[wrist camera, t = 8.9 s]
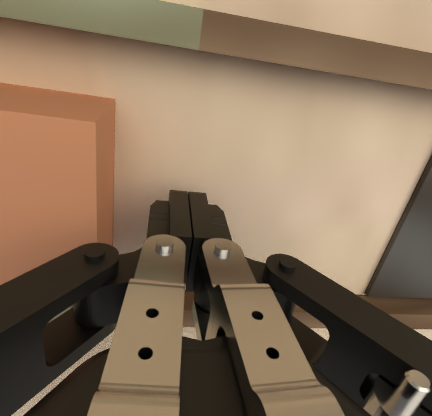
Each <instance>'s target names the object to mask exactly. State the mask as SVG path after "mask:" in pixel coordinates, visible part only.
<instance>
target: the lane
mask: <svg viewBox="0 0 432 416" xmlns="http://www.w3.org/2000/svg"><path fill="white" fill-rule="evenodd" d="M0 17H5V18H11V19H17V20H23V21H29V22H35V23H41V24H47V25H52V26H58V27H64V28H70V29H76V30H82V31H88V32H94V33H100V34H106V35H111V36H117V37H123V38H129V39H135V40H141V41H147V42H153V43H159V44H165V45H171V46H176V47H182V48H188V49H194V50H200V51H206V52H212V53H218V54H224V55H230V56H236V57H241V58H247V59H253V60H259V61H265V62H271V63H277V64H283V65H289V66H295V67H300V68H306V69H312V70H318V71H324V72H330V73H336V74H342V75H348V76H354V77H360V78H365V79H371V80H377V81H383V82H389V83H395V84H401V85H407V86H413V87H419V88H424V89H430V90H432V53H428V52H423V51H418V50H412V49H407V48H402V47H397V46H392V45H387V44H381V43H376V42H371V41H366V40H361V39H356V38H350V37H345V36H340V35H335V34H330V33H325V32H319V31H314V30H309V29H304V28H299V27H294V26H288V25H283V24H278V23H273V22H268V21H263V20H257V19H252V18H247V17H242V16H237V15H232V14H226V13H221V12H216V11H211V10H206V9H201V8H195V7H190V6H185V5H180V4H175V3H170V2H164V1H159V0H0ZM365 294H366V295H357V296H359V297H361V298H362V299H364V300H365V301H367V302H369V303H370V304H372V305H374V306H375V307H377V308H379V309H380V310H382V311H384V312H385V313H387V314H389V315H390V316H392V317H393V318H395V319H397V320H398V321H400V322H402V323H403V324H405V325H407V326H408V327H410V328H412V329H432V156H431V158H430V160H429V162H428V164H427V166H426V168H425V170H424V173H423V175H422V177H421V179H420V181H419V183H418V185H417V187H416V189H415V191H414V193H413V195H412V197H411V199H410V201H409V203H408V205H407V207H406V210H405V212H404V214H403V216H402V218H401V220H400V222H399V224H398V226H397V228H396V230H395V232H394V234H393V236H392V238H391V240H390V242H389V245H388V247H387V249H386V251H385V253H384V255H383V257H382V259H381V261H380V263H379V265H378V267H377V269H376V271H375V273H374V275H373V277H372V279H371V282H370V284H369V286H368V288H367V290H366V292H365ZM193 299H194V292H189V291H186V290H185V292H184V310H183V327H195V323H194V317H193V312H192V305H193ZM72 307H73V305H72V306H71V307H69V308H67V309H66V310H64V311H63V312H61V313H60V314H58V315H57V316H55V317H54V318H52V319H51V320H50V321H49V322H51V321H52V320H54V319H55V318H57V317H59V316H60V315H62V314H63V313H65V312H66V311H68V310H69V309H71V308H72ZM293 316H294V317H295V318H296V319H298V320H299V321H301V322H302V323H303V324H305V325H306V326H307V327H309V328H326V326H325V325H324V324H323V323H322V322H320V321H319V320H317V319H316V318H314V317H313V316H312V315H310V314H309V313H307V312H306V311H305V310H303V309H302V308H300V307H299V306H297V305H296V307H295V310H294V313H293ZM49 322H48V323H49Z"/></svg>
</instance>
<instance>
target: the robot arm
mask: <svg viewBox="0 0 432 416" xmlns="http://www.w3.org/2000/svg"><path fill="white" fill-rule="evenodd" d="M225 219H226V218H225V215H224V212H223V211H222V210H221V209H220V208H219V207H218V206H217V205H208V201H207V196H206V193H199V192H187V191H176V190H170V194H169V201H160V200H156V201H155V202H154V203H153V204H152V205H151V206H150V215H149V223H148V232H147V239H146V240H145V241H144V243H143V246H142V248H140V249H139V250H137V251H134V252H131V253H127V254H120V255H119V253H118V251H117V249H116V248H114V247H113V246H111V245H109V244H105V243H88V244H84V245H81V246H79V247H77V248H75V249H73V250H71V251H69V252H67V253H65V254H63V255H61V256H59V257H56V258H54V259H52V260H50V261H48V262H46V263H44V264H42V265H40V266H38V267H36V268H34V269H32V270H30V271H28V272H26V273H24V274H22V275H20V276H18V277H16V278H14V279H12V280H10V281H8V282H6V283H4V284H2V285H0V416H11V415H12V414H13V413H15V412H16V411H17V410H18V409H19V408H21V407H22V406H23V405H24V404H25V403H27V402H28V401H29V400H30V399H32V398H33V397H34V396H35V395H36V394H38V393H39V392H40V391H41V390H42V389H44V388H45V387H46V386H47V385H49V384H50V383H51V382H52V381H53V380H55V379H56V378H57V377H58V376H59V375H61V374H62V373H63V372H64V371H66V370H67V369H68V368H69V367H70V366H72V365H73V364H74V363H75V362H76V361H78V360H79V359H80V358H81V357H83V356H84V355H85V354H86V353H87V352H89V351H90V350H91V349H92V348H93V347H95V346H96V345H97V344H98V343H99V342H101V341H102V340H103V339H104V338H106V337H107V336H108V335H109V334H110V333H111V332H113V330H114V329H115V328H116V329H115V332H114V336H113V339H112V343H111V346H110V348H108V349H106V350H104V351H102V352H99V353H98V354H96V355H94V356H92V357H91V358H89V359H88V360H86V361H85V362H83V363H82V364H81V365H80V366H78V367H77V368H76V369H75V370H74V371H73V372H72V373H71V374H69V375H68V376H67V377H66V378H65V379H64V380H63V381H62V382H60V383H59V384H58V385H57V386H56V387H55V388H54V389H53V390H51V391H50V392H49V393H48V394H47V395H46V396H45V397H44V398H43V399H41V400H40V401H39V402H38V403H37V404H36V405H35V406H34V407H32V408H31V409H30V410H29V411H28V412H27V413H26V414H25V415H23V416H432V341H431V340H430V339H428V338H426V337H425V336H423V335H421V334H420V333H418V332H416V331H415V330H413V329H412V328H410V327H408V326H407V325H405V324H403V323H402V322H400V321H398V320H397V319H395V318H393V317H392V316H390V315H389V314H387V313H385V312H384V311H382V310H380V309H379V308H377V307H375V306H374V305H372V304H370V303H369V302H367V301H365V300H364V299H362V298H361V297H359V296H357V295H356V294H354V293H352V292H351V291H349V290H347V289H346V288H344V287H342V286H341V285H339V284H338V283H336V282H334V281H333V280H331V279H329V278H328V277H326V276H324V275H323V274H321V273H319V272H318V271H316V270H314V269H313V268H311V267H310V266H308V265H306V264H305V263H303V262H301V261H300V260H298V259H296V258H294V257H292V256H289V255H285V254H274V255H271V256H269V257H268V258H267V260H266V263H262V262H258V261H255V260H251V259H249V258H246V257H245V256H244V253H243V251H242V249H241V247H240V246H239V245H238V244H236V243H235V242H233V241H232V238H231V235H230V232H229V228H228V225H227V222H226V220H225ZM185 283H186V291H189V292H194V299H193V305H192V312H193V317H194V323H195V329H196V334H197V340H196V339H191V338H187V337H183V336H182V329H183V310H184V292H185ZM72 305H73V307H72V308H71V309H69V310H68V311H66V312H65V313H63V314H62V315H60V316H59V317H57V318H55V319H54V320H52V321H51V322H49V321H50V320H51V319H52V318H54V317H55V316H57V315H58V314H60V313H61V312H63V311H64V310H66V309H67V308H69V307H71V306H72ZM296 305H297V306H299V307H300V308H302V309H303V310H305V311H306V312H307V313H309V314H310V315H312V316H313V317H314V318H316V319H317V320H319V321H320V322H322V323H323V324H324V325H325V326H326V328H327V329H328V331H329V340H328V341H327V340H325V339H324V338H322V337H321V336H320V335H318V334H317V333H316V332H314V331H313V330H311V329H310V328H309V327H307V326H306V325H305V324H303V323H302V322H301V321H299V320H298V319H296V318H295V317H294V316H293V313H294V310H295V307H296ZM48 322H49V323H48Z"/></svg>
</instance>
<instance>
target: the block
mask: <svg viewBox="0 0 432 416" xmlns="http://www.w3.org/2000/svg"><path fill="white" fill-rule="evenodd" d="M114 139H115V99H111V98H104V97H97V96H90V95H83V94H76V93H69V92H62V91H55V90H48V89H41V88H34V87H27V86H20V85H13V84H6V83H0V285H2V284H4V283H6V282H8V281H10V280H12V279H14V278H16V277H18V276H20V275H22V274H24V273H26V272H28V271H30V270H32V269H34V268H36V267H38V266H40V265H42V264H44V263H46V262H48V261H50V260H52V259H54V258H56V257H59V256H61V255H63V254H65V253H67V252H69V251H71V250H73V249H75V248H77V247H79V246H81V245H84V244H88V243H105V244H109V245H111V246H112V245H113V196H114Z"/></svg>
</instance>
